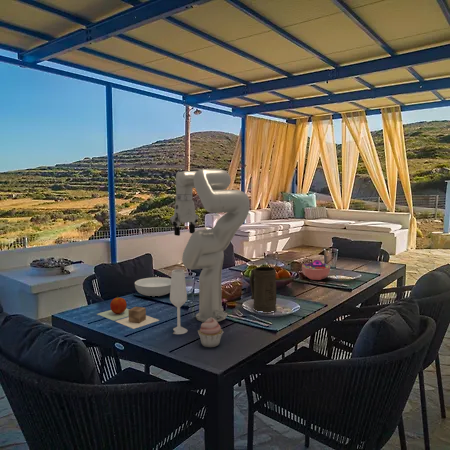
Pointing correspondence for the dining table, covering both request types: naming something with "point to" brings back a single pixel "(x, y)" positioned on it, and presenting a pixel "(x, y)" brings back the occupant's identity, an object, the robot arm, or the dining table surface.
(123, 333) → the dining table surface
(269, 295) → the beer stein
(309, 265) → the cell model
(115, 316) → the pale sage mat
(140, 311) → the walnut block
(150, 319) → the cream mat
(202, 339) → the cupcake
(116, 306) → the fruit
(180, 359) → the dining table surface
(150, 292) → the serving bowl
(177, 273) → the champagne flute
